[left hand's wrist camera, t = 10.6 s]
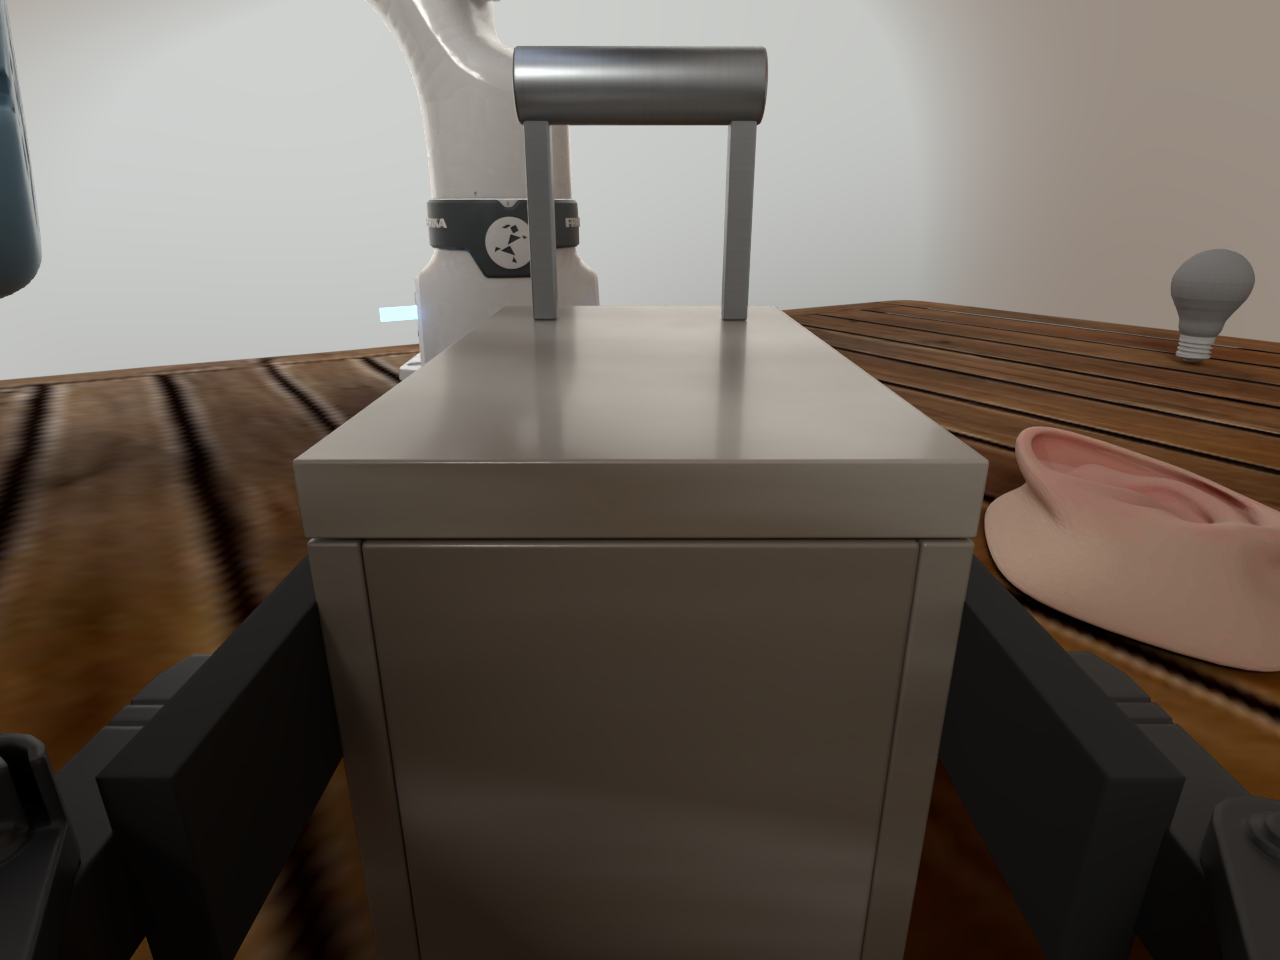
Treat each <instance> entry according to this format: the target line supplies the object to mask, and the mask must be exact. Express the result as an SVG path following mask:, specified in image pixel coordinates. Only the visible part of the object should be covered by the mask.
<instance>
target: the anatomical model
mask: <svg viewBox="0 0 1280 960" xmlns="http://www.w3.org/2000/svg"><path fill="white" fill-rule="evenodd" d="M1015 453H1016V459H1017V463H1018V465H1019V468H1020V470H1021V472H1022V474H1023V476H1024V478H1025V480H1026V483H1025V484H1024V485H1023V486H1021V487H1019V488H1017V489H1015V490H1012V491H1010V492H1008V493H1006V494H1003V495H1002V496H1000V497H999V498H997V499H996V500H994V501H993V502H992V503H991V504H990V505H989V507H988V508H987V511H986V514H985V534H986V539H987V543H988V547H989V550H990V552H991V555H992V557H993V560H994V561H995V563H996V565H997V567H998V569H999V570H1000V571H1001V572H1002V574H1003V575H1004V576H1005V577H1006V579H1007V580H1008V581H1009V582H1011V583H1012V584H1013V585H1014V586H1015V587H1017V588H1018V589H1019V590H1021V591H1022V592H1023V593H1025V594H1027V595H1028V596H1030V597H1032V598H1034V599H1035V600H1037V601H1039V602H1041V603H1043V604H1045V605H1047V606H1049V607H1051V608H1053V609H1055V610H1058V611H1060V612H1062V613H1065V614H1067V615H1069V616H1071V617H1074V618H1076V619H1079V620H1081V621H1084V622H1086V623H1089V624H1092V625H1094V626H1097V627H1100V628H1102V629H1105V630H1108V631H1111V632H1114V633H1116V634H1119V635H1122V636H1125V637H1128V638H1131V639H1134V640H1137V641H1140V642H1143V643H1146V644H1149V645H1153V646H1156V647H1159V648H1162V649H1165V650H1168V651H1172V652H1175V653H1178V654H1182V655H1185V656H1189V657H1193V658H1196V659H1200V660H1204V661H1207V662H1211V663H1214V664H1218V665H1223V666H1228V667H1233V668H1238V669H1243V670H1250V671H1260V672H1274V671H1280V512H1279V511H1277V510H1274V509H1272V508H1270V507H1268V506H1266V505H1263V504H1261V503H1259V502H1257V501H1254V500H1252V499H1250V498H1248V497H1245V496H1243V495H1241V494H1239V493H1237V492H1234V491H1232V490H1230V489H1228V488H1226V487H1224V486H1221V485H1219V484H1217V483H1215V482H1213V481H1211V480H1208V479H1206V478H1204V477H1201V476H1199V475H1197V474H1194V473H1192V472H1189V471H1187V470H1184V469H1182V468H1179V467H1176V466H1174V465H1171V464H1168V463H1165V462H1163V461H1160V460H1157V459H1154V458H1151V457H1148V456H1145V455H1142V454H1139V453H1136V452H1133V451H1130V450H1127V449H1125V448H1122V447H1119V446H1116V445H1113V444H1110V443H1107V442H1104V441H1100V440H1097V439H1094V438H1090V437H1087V436H1083V435H1080V434H1077V433H1073V432H1069V431H1065V430H1060V429H1056V428H1050V427H1030V428H1027V429H1025V430H1023V431H1022V432H1021V433H1020V434H1019V435H1018V437H1017V440H1016V445H1015Z"/></svg>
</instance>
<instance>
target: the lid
mask: <svg viewBox="0 0 1280 960" xmlns="http://www.w3.org/2000/svg"><path fill="white" fill-rule="evenodd" d="M767 83H768V58H767V52H766V49H765V47H763V46H517V47H515V48H514V52H513V57H512V85H513V96H514V104H515V110H516V115H517V118H518V121H519V123H520V124H522V125H523V126H524V146H525V167H526V187H527V207H528V227H529V247H530V268H531V288H532V306H504V307H503V308H502V309H500V310H499V311H497V312H496V313H495V314H493V315H492V316H491V317H489V318H488V319H487V320H485V321H484V322H482V323H481V324H480V325H478V326H477V327H476V328H474V329H473V330H471V331H470V332H469V333H467V334H466V335H465V336H463V337H462V338H460V339H459V340H458V341H456V342H455V343H454V344H452V345H451V346H449V347H448V348H447V349H445V350H444V351H443V352H441V353H440V354H439V355H437V356H436V357H434V358H433V359H432V360H430V361H429V362H428V363H426V364H425V365H423V366H422V367H421V368H419V369H418V370H417V371H415V372H414V373H412V374H411V375H410V376H408V377H407V378H406V379H404V380H403V381H401V382H400V383H399V384H397V385H396V386H395V387H393V388H392V389H391V390H389V391H388V392H386V393H385V394H384V395H382V396H381V397H380V398H378V399H377V400H375V401H374V402H373V403H371V404H370V405H369V406H367V407H366V408H364V409H363V410H362V411H360V412H359V413H358V414H356V415H355V416H353V417H352V418H351V419H349V420H348V421H347V422H345V423H344V424H343V425H341V426H340V427H338V428H337V429H336V430H334V431H333V432H332V433H330V434H329V435H327V436H326V437H325V438H323V439H322V440H321V441H319V442H318V443H316V444H315V445H314V446H312V447H311V448H310V449H308V450H307V451H306V452H304V453H303V454H301V455H300V456H299V457H297V458H296V459H295V460H293V463H292V465H293V471H294V476H295V482H296V488H297V494H298V500H299V505H300V511H301V517H302V523H303V529H304V534H305V537H306V538H975V537H976V536H977V530H978V525H979V519H980V513H981V507H982V502H983V496H984V490H985V484H986V478H987V473H988V467H989V461H988V460H987V459H986V458H984V457H983V456H982V455H980V454H979V453H978V452H976V451H975V450H973V449H972V448H971V447H969V446H968V445H966V444H965V443H964V442H962V441H961V440H960V439H958V438H957V437H955V436H954V435H953V434H951V433H950V432H948V431H947V430H946V429H944V428H943V427H942V426H940V425H939V424H937V423H936V422H935V421H933V420H932V419H930V418H929V417H928V416H926V415H925V414H924V413H922V412H921V411H919V410H918V409H917V408H915V407H914V406H912V405H911V404H910V403H908V402H907V401H906V400H904V399H903V398H901V397H900V396H899V395H897V394H896V393H895V392H893V391H892V390H890V389H889V388H888V387H886V386H885V385H883V384H882V383H881V382H879V381H878V380H877V379H875V378H874V377H872V376H871V375H870V374H868V373H867V372H865V371H864V370H863V369H861V368H860V367H859V366H857V365H856V364H854V363H853V362H852V361H850V360H849V359H847V358H846V357H845V356H843V355H842V354H841V353H839V352H838V351H836V350H835V349H834V348H832V347H831V346H829V345H828V344H827V343H825V342H824V341H823V340H821V339H820V338H818V337H817V336H816V335H814V334H813V333H811V332H810V331H809V330H807V329H806V328H805V327H803V326H802V325H800V324H799V323H798V322H796V321H795V320H793V319H792V318H791V317H789V316H788V315H787V314H785V313H784V312H782V311H781V310H780V309H778V308H777V307H775V306H748V289H749V269H750V249H751V228H752V208H753V188H754V168H755V147H756V127H757V125H758V124H760V123H761V120H762V118H763V114H764V110H765V104H766V95H767ZM551 125H728V147H727V173H726V200H725V227H724V254H723V281H722V306H558V286H557V260H556V233H555V207H554V180H553V153H552V127H551Z"/></svg>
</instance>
